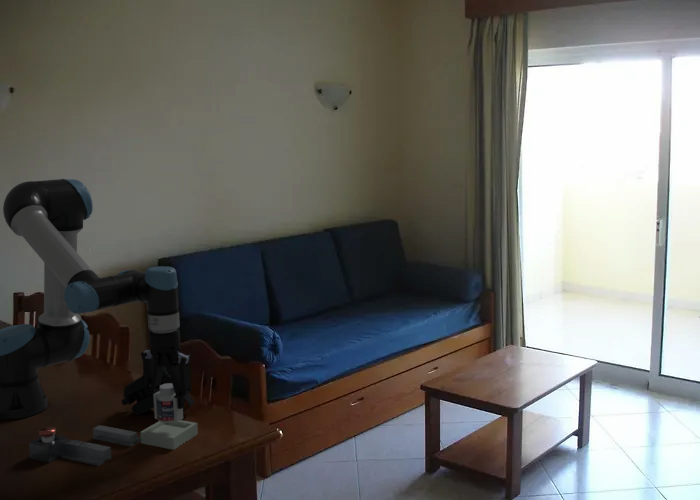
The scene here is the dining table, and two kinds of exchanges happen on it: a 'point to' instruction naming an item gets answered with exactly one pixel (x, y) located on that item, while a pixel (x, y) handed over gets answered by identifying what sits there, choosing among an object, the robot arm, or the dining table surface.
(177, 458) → the dining table surface
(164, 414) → the pill bottle
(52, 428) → the plunger
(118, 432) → the socket
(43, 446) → the block
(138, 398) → the tool
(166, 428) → the tray
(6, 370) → the robot arm
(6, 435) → the dining table surface
